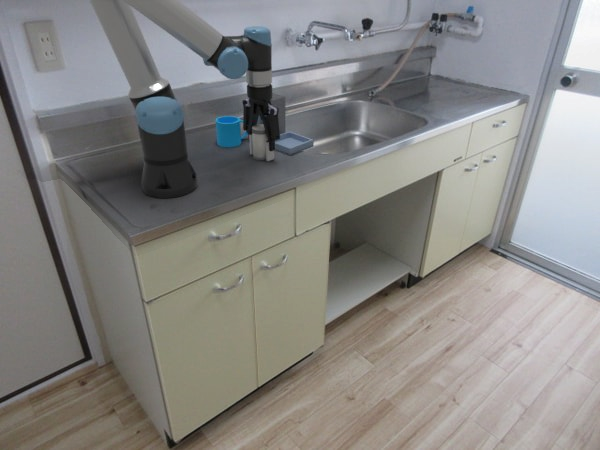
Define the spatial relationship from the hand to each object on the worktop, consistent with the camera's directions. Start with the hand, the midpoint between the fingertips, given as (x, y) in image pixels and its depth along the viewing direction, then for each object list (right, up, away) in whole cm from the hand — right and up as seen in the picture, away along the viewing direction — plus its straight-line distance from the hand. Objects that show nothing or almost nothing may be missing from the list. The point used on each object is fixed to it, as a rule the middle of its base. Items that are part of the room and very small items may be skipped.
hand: (261, 156), depth 147 cm
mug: (-10, +7, +11) cm, 17 cm away
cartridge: (0, 0, 0) cm, 0 cm away
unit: (+2, +10, +16) cm, 19 cm away
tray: (+9, +5, +8) cm, 13 cm away
